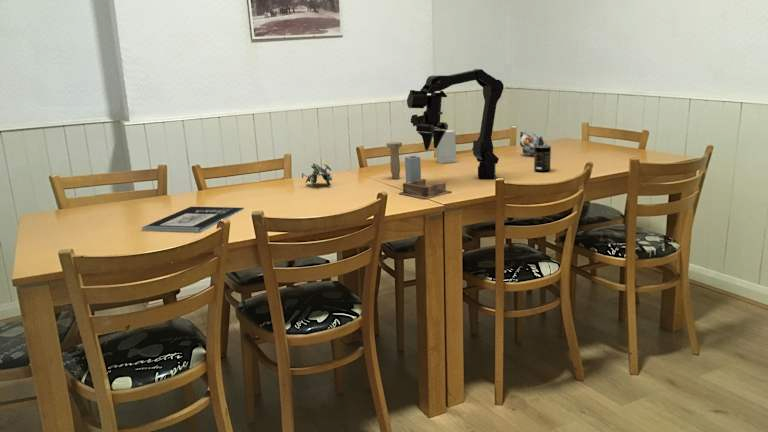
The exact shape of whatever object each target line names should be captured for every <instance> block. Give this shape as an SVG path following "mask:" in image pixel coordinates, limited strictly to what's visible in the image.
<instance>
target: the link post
mask: <svg viewBox="0 0 768 432" xmlns="http://www.w3.org/2000/svg"><path fill="white" fill-rule="evenodd" d="M421 165H422V164H421V156H418V155H417V156H416V155H411V156H404V167H405V168H404V169H405V173H404V174H405V183H407V182H411V181H416V180H420V179H422V173H421V172H422V169H421Z"/></svg>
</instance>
